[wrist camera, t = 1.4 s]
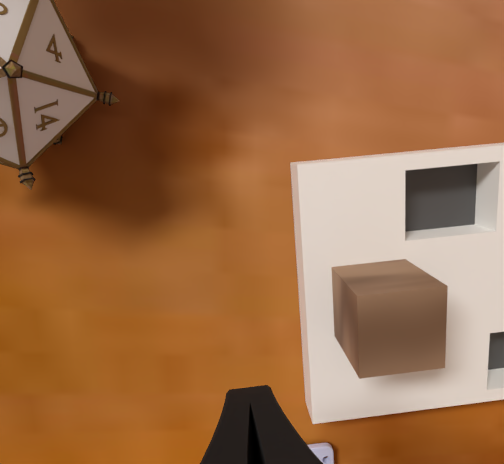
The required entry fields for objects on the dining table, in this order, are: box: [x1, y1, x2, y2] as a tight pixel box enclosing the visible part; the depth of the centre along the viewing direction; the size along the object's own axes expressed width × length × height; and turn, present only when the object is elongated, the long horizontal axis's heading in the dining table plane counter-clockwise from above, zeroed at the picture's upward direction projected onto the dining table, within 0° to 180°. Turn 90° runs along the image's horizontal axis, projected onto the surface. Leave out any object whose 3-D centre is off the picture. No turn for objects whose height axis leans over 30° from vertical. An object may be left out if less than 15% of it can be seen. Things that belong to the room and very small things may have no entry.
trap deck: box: [290, 143, 504, 424], centre depth 21 cm, size 15×19×4 cm
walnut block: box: [332, 259, 448, 379], centre depth 19 cm, size 4×4×4 cm
